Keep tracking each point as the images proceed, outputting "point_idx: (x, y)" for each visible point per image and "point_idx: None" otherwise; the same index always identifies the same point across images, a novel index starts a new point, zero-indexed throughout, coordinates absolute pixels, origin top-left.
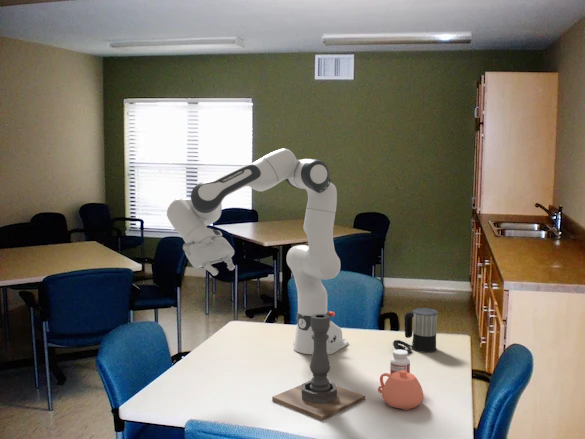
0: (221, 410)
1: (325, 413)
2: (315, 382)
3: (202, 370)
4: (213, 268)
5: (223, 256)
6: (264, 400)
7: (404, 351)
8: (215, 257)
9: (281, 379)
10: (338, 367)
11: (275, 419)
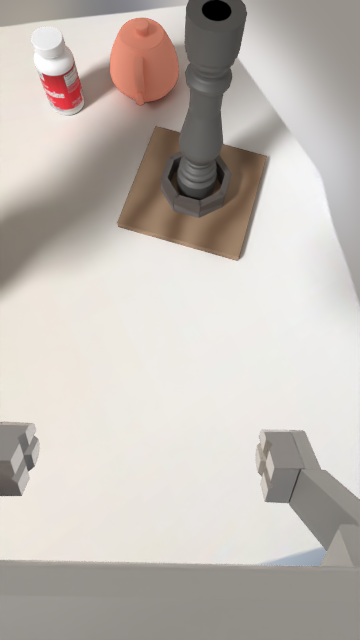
0: (323, 321)
1: (253, 155)
2: (214, 165)
3: (163, 493)
4: (317, 469)
5: (6, 560)
6: (243, 273)
7: (41, 31)
8: (216, 576)
9: (133, 292)
10: (20, 218)
11: (300, 223)
